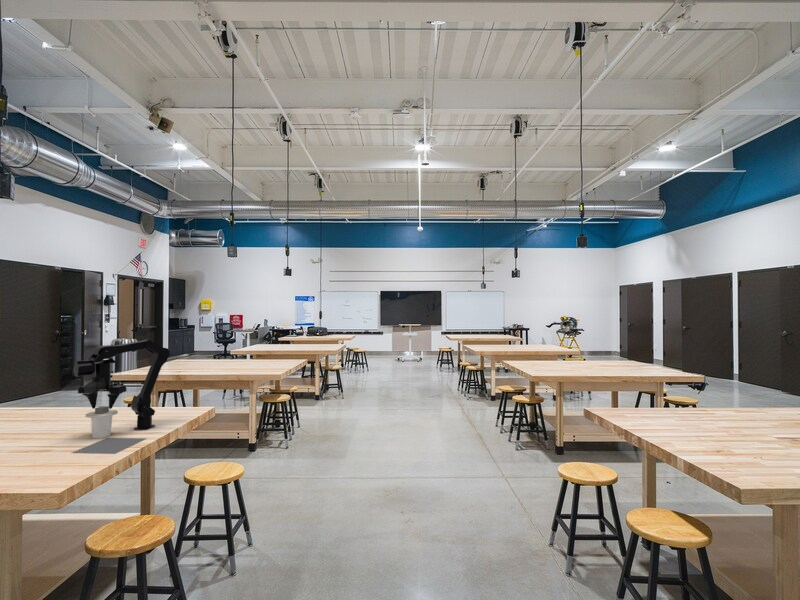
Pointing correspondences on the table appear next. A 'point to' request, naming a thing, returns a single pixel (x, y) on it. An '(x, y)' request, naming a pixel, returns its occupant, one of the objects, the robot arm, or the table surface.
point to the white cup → (101, 426)
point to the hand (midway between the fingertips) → (102, 408)
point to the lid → (101, 412)
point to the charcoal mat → (110, 445)
